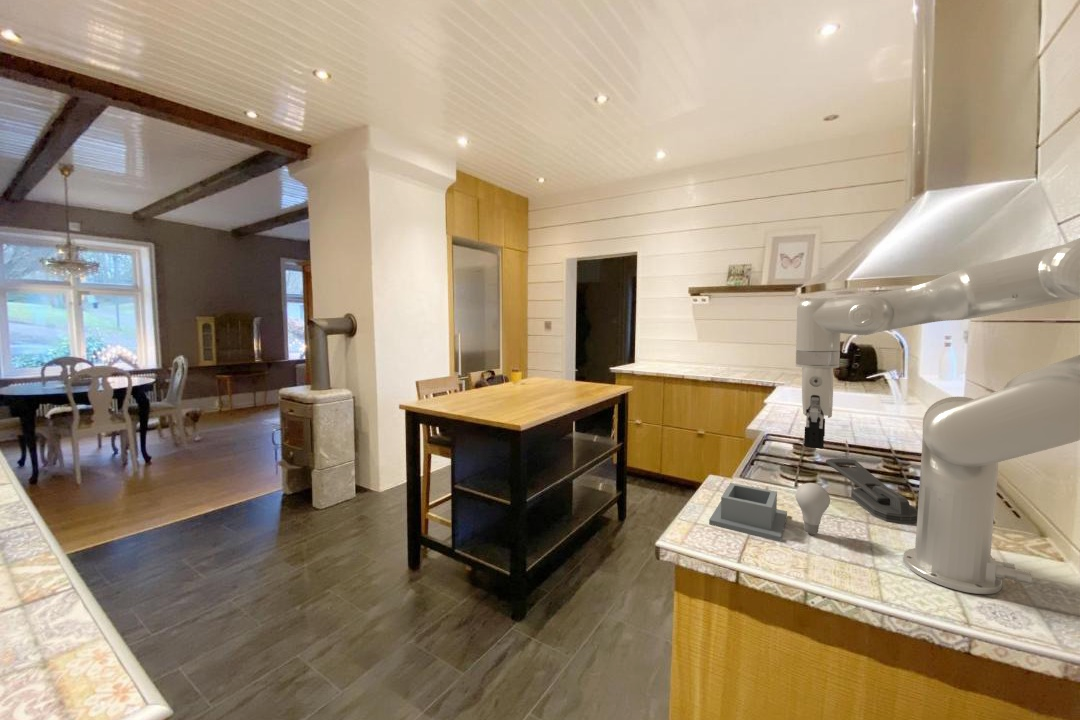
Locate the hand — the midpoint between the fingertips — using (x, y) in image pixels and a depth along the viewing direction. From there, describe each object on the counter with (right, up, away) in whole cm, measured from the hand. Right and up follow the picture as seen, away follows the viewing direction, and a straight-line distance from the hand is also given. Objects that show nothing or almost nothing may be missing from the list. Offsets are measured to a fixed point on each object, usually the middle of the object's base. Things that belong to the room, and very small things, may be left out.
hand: (814, 441), depth 88 cm
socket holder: (-9, -20, +9) cm, 23 cm away
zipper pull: (+25, -18, +18) cm, 36 cm away
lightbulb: (0, -20, +2) cm, 20 cm away
